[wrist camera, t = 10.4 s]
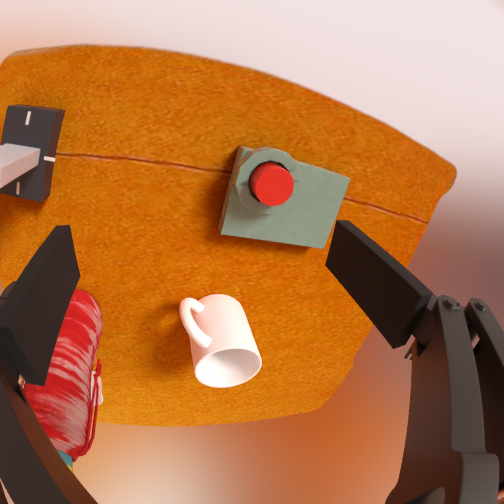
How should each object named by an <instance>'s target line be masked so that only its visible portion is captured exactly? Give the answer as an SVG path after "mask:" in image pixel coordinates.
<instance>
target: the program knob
mask: <svg viewBox="0 0 504 504" xmlns="http://www.w3.org/2000/svg"><path fill="white" fill-rule="evenodd" d="M39 155H40V149H39V148H33V147H27V146H21V145H14V144H8V143H7V144H4V145H1V146H0V188H2V187H3V186H5V185H6V184H8V183H9V182H11V181H12V180H14V179H16V178H17V177H19V176H20V175H22V174H24V173H25V172H27V171H29V170H30V169H32V168H34V167H36V166H37V165H38V162H39Z"/></svg>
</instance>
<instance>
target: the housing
mask: <svg viewBox="0 0 504 504" xmlns="http://www.w3.org/2000/svg"><path fill="white" fill-rule="evenodd" d="M266 163H274V164H277V165H279V166H281V167H282V168H284V169H285V170H287V171H288V172H289V173H290V174H291V176H292V178H293V181H294V189H293V192H292V195H291V196H290V198H289V199H288V200H287V201H286V202H284V203H283V204H281V205H277V206H268V205H265V204H263V203H262V202H261V201H260V200H259V199H258V198H257V197H256V196H255V195H254V193H253V192H252V190H251V187H250V179H251V176H252V174H253V172H254V171H255V170H256V169H257V168H258V167H259V166H261V165H263V164H266ZM349 181H350V178H348V177H346V176H344V175H342V174H340V173H337V172H334V171H331V170H328V169H325V168H322V167H318V166H315V165H312V164H309V163H305V162H302V161H298V160H295V159H293V158H292V157H291V156H290V155H289V154H288V153H286V152H284V151H282V150H279V149H276V148H272V147H268V146H264V147H260V148H257V149H253V148H249V147H245V146H241V145H239V147H238V151H237V155H236V158H235V162H234V166H233V169H232V173H231V177H230V181H229V184H228V188H227V192H226V196H225V200H224V204H223V208H222V212H221V216H220V220H219V224H218V228H219V231H220V233H221V234H222V235H230V236H237V237H244V238H251V239H259V240H266V241H273V242H280V243H287V244H294V245H300V246H307V247H314V248H321V249H324V246H325V244H326V241H327V239H328V236H329V234H330V231H331V229H332V226H333V224H334V221H335V219H336V216H337V214H338V211H339V208H340V206H341V203H342V200H343V198H344V195H345V192H346V190H347V187H348V184H349Z"/></svg>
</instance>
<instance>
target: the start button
mask: <svg viewBox="0 0 504 504" xmlns="http://www.w3.org/2000/svg"><path fill="white" fill-rule="evenodd" d="M250 187H251V190H252V192H253V193H254V195H255V196H256V197H257V198H258V199H259V200H260V201H261V202H262V203H263V204H265V205H268V206H277V205H281V204H283V203H284V202H286V201H287V200H288V199H289V198H290V196H291V195H292V192H293V189H294V181H293V178H292V176H291V174H290V173H289V172H288V171H287V170H285V169H284V168H282V167H281V166H279V165H277V164H274V163H266V164H263V165H261V166H259V167H258V168H257V169H256V170H255V171H254V172H253V174H252V176H251V179H250Z"/></svg>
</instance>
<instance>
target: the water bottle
mask: <svg viewBox="0 0 504 504" xmlns="http://www.w3.org/2000/svg"><path fill="white" fill-rule="evenodd" d="M102 324H103V322H102V317H101V311H100V307H99V304H98V303H97V301H96V300H95V299H94V298H93V296H92V295H91V294H89V293H87V292H85V291H83V290H77V289H75V290H74V293H73V295H72V298H71V301H70V303H69V306H68V309H67V312H66V314H65V317H64V320H63V323H62V326H61V329H60V332H59V335H58V338H57V342H56V345H55V348H54V352H53V355H52V359H51V363H50V366H49V370H48V374H47V378H46V383H45V386H38V385H31V384H27V382H26V381H25V379H24V378H23V377H22V375H21V374H20V375H21V378H22V381H21V384H20V386H21V387H22V386H23V383H24V381H25V384H24V388H23V391H24V393H25V395H26V397H27V399H28V401H29V403H30V405H31V407H32V409H33V411H34V413H35V415H36V417H37V418H38V420H39V422H40V424H41V426H42V427H43V429H44V431H45V432H46V434H47V436H48V437H49V439H50V441H51V442H52V444H53V445H54V447H55V448H56V450H57V451H58V453H59V454H60V456H61V457H62V459H63V460H64V462H65V463H66V464H67V466H68V467H69V469H70V470H71V471H72V473H73V469H72V462H75V461H76V460H77V458H78V456H83V455H85V454H86V453H87V452H88V450H89V449H90V448H91V445H92V442H93V439H94V436H95V427H96V419H97V412H98V396H99V385H98V381H97V379H98V377H99V376H100V373H101V364H100V359H98V360H97V367H96V373H94V374H93V377H94V386H93V392H92V399H91V378H92V370H93V364H94V360H95V356H96V352H97V348H98V344H99V340H100V337H101V330H102ZM95 392H96V400H95V413H94V420H93V428H92V436H91V439H90V442H89V437H90V429H91V422H92V414H93V406H94V399H95Z"/></svg>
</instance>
